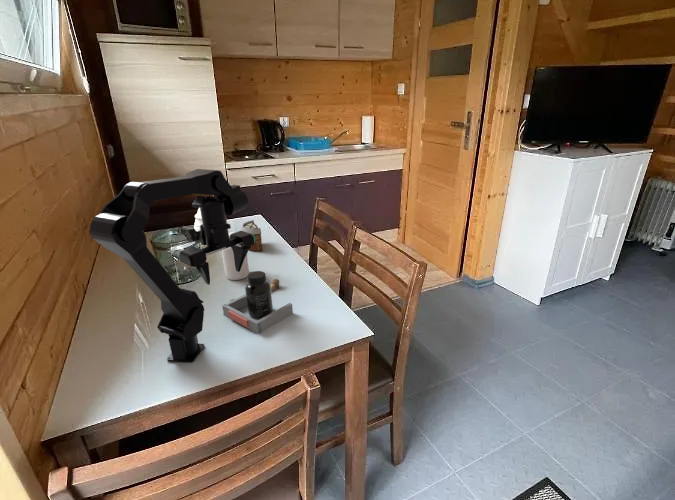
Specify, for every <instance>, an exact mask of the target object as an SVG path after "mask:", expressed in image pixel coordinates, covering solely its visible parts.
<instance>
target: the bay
mask: <svg viewBox="0 0 675 500" xmlns="http://www.w3.org/2000/svg"><path fill="white" fill-rule="evenodd" d="M234 299H235V300H232V299H231V300H232V301H230V300H229V302H225V304H224V303H223V305H222V312H223V315H224V316H226V317H227V318H229V319H230V320H232V321H234V322H236V323H238V324H239V325H241V326H242V327H245V328H247V329H249V330H250V331H252V332H253V333H256V334H260V333H262V332H264V331H265V330H267V329H268V328H271V327H272V326H273V325H275V324H277V323H278V322H280V321H283V320H284V319H285V318H287V317H289V316H291V315H293V314H294V311H293V303H291V302H288V303H287V304H285V305H283V306H281V307H279V308H277V309H276V310H273V312H272V313H270V314H269V315H267V316H265V317H263V318H260V319H256V318H253V317H251V316H250V315H247V314H245V313H243V312H241V311H240V309H242V308H244V307H247V299H246V293H245V294H243V295H241V296H239V297H237V298H234Z"/></svg>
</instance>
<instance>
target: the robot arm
mask: <svg viewBox="0 0 675 500" xmlns="http://www.w3.org/2000/svg"><path fill="white" fill-rule="evenodd" d="M190 195H197V196H196V199H194V201H193V202H192V204H191V207H192V208H198V209H199V208H200V211H201V217H202V223H203V224H202V225H200V231H197V232H196V230H195V229H194V228H192V229H188V230H185V237H186V240H187V242H188V243H189V244H190V243H193V242H194V244H195V245H196V244H199V243H200V242H201V245H203V246H202V247H203V248H198V247H195V246H191V247H188V248H185V249H181V250H180V251H179V254H178V258H179V263H182V264H184V265H186V266H189V267H192V268H195V269H196V270H197V271H198V273H199V274H200V276H201V278H202V279H203V281H204V282H205V284H206V285H210V284H211V276H210V275H211V274H210V266H209V265H210V264H209V262H208V261H207V260H208V259H207V258H208V257H207V256H209V255H212V254H214V253H217V252H221V251H222V250H223V249H226V248H229V247H231V248H232V250H233V254H234V261H235V268H236V271H237V272H240V270H241V267H242V264H243V262H244V259H245V257H246V255H247V256H248V252H249V251H248V250H249V249H251V245H254V244H255V240H254V236H253V235H252V234H250V233H247V232H244V231H242V230H238V231H234V232H235V233H232V234H231V235H230V236H229V233H230V232H229V230H230V229H231V224H230V223H228V221H227V216H231V215H233V214H236V213H239V212H240V211H243V210H245V209H246V208H247V207H248V206H249V198H248V196H247V194H246V193H245V192H244V191H243V190H242V189H241V186H240V185H239V184H238V185H237V184H233V185H231V184H230V183H229V182H228V180H227V179H226V177H225V175H224V174H223V172H222V171H221V170H216V169H204V168H203V169H202V168H196V169H194V170H191V171H188V172H187V173H185V174H184V175H181V176H175V177H169V178H162V179H154V180H146V181H130V182H128V183H126V184H125V185H124V186H123V188H122V189H121V190H120V192H119V193H118V194H117V195H115V196H114V197H113V198H112V199H111V200H110V201H108V202H107V203H106V204H105V205H104V206H103V207H102V209H101V211H99V213H98V215H95V216H94V217H93V219H92V220H91V222H90V225H89V230H88V232H89V235H90V237H91V238H92V239H93V240H94V241H95V242H97V243H98V244H99V245H100V246H102V247H103V248H104V249H106V250H108V251H110V252H112V253H113V254H115V255H117V256H118V257H121V258H122V259H123V260H124V261H125V263H127V264H128V265H129V267H130V268H131V269H132V270H133V271H134V272H135V273H136V274H137V276H138V277H139V278H140V279H141V280H142V281H143V282H144V284H145V285H146V286H147V287H148V288H149V289H150V290H151V291H152V292H153V294H154V295H155V296H156V297H157V298H158V299H159V300H160V310H161V311H162V316H161V318H160V319H159V321H158V324H157V329H158V330H159V333H161V334H166V335H168V343H169V347H170V351H171V353H170V354H169V355H168V356H167V358H166V360H167V362H177V363H178V362H179V363H180V362H181V363H182V362H183V363H193V362H195V360H196V359H197V357H198V356H199V355H200V353H201V352H202V351H203V349H204V348H205V343H199V340H198V334H199V333H201V332H202V331H203V327H204V317H205V316H204V315H205V307H204V304H203V303H204V301H203V300H202V299H200V297H199V295H198V293H197V292H196V291H194V290H190V289H186V288H182V287H179V285H178V284H177V283H176V281H175V280H174V279H173V278H172V277H171V275H170V274H169V273H168V271H167V270H166V269H165V268H164V267H163V265H162V263H160V261H158V259H157V258H156V256H154V254H153V253H152V251H150V249H149V248H148V246H147V245H148V244H147V242H148V241H147V234H146V233H145V231H144V229H145V227H146V225H147V223H148V222H149V218H150V211H151V206H152V204H153V203H154V202H158V201H163V200H168V199H173V198H174V199H175V198H179V197H183V196H190ZM201 195H202V196H201ZM204 195H205V196H206V197H205V196H204ZM207 195H208V196H207ZM131 208H132V210H131V212H130V213H129V215H125V213H127V212H128V211H129V210H130V209H131ZM229 238H230V239H229ZM204 245H206V246H204Z"/></svg>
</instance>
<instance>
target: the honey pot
mask: <svg viewBox="0 0 675 500" xmlns="http://www.w3.org/2000/svg"><path fill="white" fill-rule="evenodd" d="M194 218H195V220H194V221H195V222H194V225H193V229H195V230H196V231H200V225H202V224H203V223H202V217H201V211H200V208H199V207H198V209H197V213H196V214H195V215H194ZM200 244H201V242H200ZM200 247H207V246H206V245H204V246H203V245H201V246H200Z"/></svg>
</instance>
